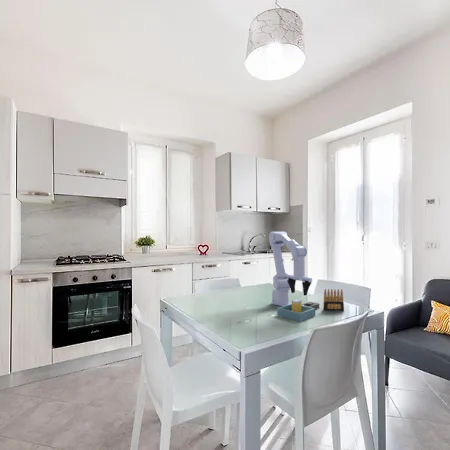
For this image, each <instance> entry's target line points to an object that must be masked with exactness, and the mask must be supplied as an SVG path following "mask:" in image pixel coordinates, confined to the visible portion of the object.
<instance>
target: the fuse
mask: <svg viewBox="0 0 450 450" xmlns="http://www.w3.org/2000/svg"><path fill="white" fill-rule="evenodd" d="M291 304H292V311H293V312H297V313H301V304H302V300H300V299H298V298H297V299H293V300H291Z"/></svg>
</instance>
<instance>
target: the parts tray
mask: <svg viewBox="0 0 450 450" xmlns="http://www.w3.org/2000/svg"><path fill="white" fill-rule="evenodd" d="M276 316H277V317H282V318H285V319H289V320H293V321H296V322H300V323H301V322H303V321H306V320H308V319H310V318H313V317H315V316H316V309H315V308H311V307H307V306H302V305H301V313H297V312H293V311H292V303H291V304H289V305H286V306H280V307H277V308H276Z"/></svg>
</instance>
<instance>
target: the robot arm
mask: <svg viewBox="0 0 450 450" xmlns="http://www.w3.org/2000/svg"><path fill="white" fill-rule="evenodd" d="M268 240H269V246H270V247H271V248H272V255H273V260H274V265H275V272H276V274H275V275H274V276H273V277H272V286H273V288H274V289H272V293H271V304H272V305H276V306H280V307H283V306H286V305H289V304H292V302H289V299H290V298H289V297H290V296H289V290H290V293H291V294H294V293H295V292H296V282H297V281H301V282H302V288H303V291H302V293H303V296H307V295H308V293H309V288H310V287H311V285H312V283H313V278H312V277H307V276H305V275H306V274H305V257H306V256H307V254H308V249H307V247H305V245H300V244H299V243H298V242H296V240H295V239H291V238H290V237H289V236H288V233H287V232H286V231H270V232H269V235H268ZM284 245H285V246H286V248H287V249H288V250H289V251H290V253H291V257H292V260H293V275H292V274H288V273H286V270H285V265H284V264H285V263H284V259H283V253H282V248H281V247H283V246H284ZM271 304H270V305H271Z"/></svg>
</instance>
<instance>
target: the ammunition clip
mask: <svg viewBox="0 0 450 450" xmlns="http://www.w3.org/2000/svg"><path fill="white" fill-rule="evenodd" d="M344 304H345V303H344V292H343V289H342V288H341V289H337V290H336V289H332V288H331V290H330V288H328V289H326V288H325V289H324V292H323V311H324V312H345V305H344Z"/></svg>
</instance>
